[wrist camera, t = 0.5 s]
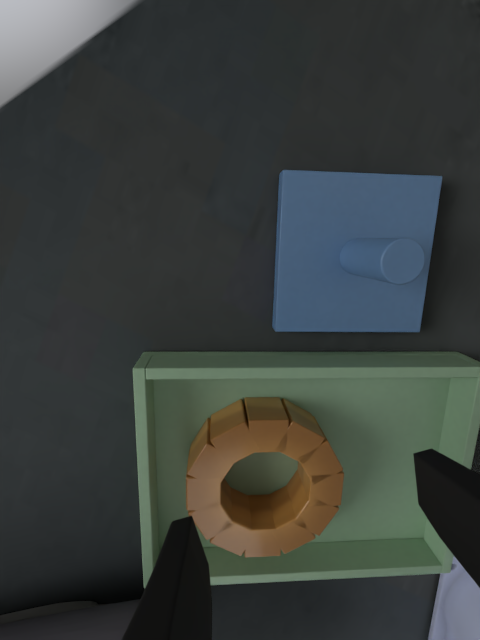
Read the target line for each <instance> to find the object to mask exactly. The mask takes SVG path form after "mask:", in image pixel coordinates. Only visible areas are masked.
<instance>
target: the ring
mask: <svg viewBox="0 0 480 640" xmlns="http://www.w3.org/2000/svg"><path fill="white" fill-rule="evenodd" d="M262 452H281V453H283V454H285V455H287V456H288V457H290V458H292V459H294V460H296V461H298V468H297V471H296V472H295V474H294V475H293V476H292V478H291V479H290V481H289V482H288V483H287V485H286V486H284V487H282V488H280V489H278V490H276V491H275V492H273V493H271V494H264V495H246V494H244V493H242V492H240V491H238V490H236V489H233V488H231V487H230V486H229V484H228V483H227V481H226V480H225V476H226V475H227V473H228V472H229V470H230V469H231V467H232V466H233V464H234V463H236V462H238V461H240V460H242V459H244V458H246V457H247V456H249V455H251V454H253V453H262ZM343 481H344V472H343V467H342V465H341V464H340V462H339V460H338V458H337V456H336V454H335V453H334V451H333V449H332V447H331V445H330V443H329V442H328V440H327V438H326V436H325V435H324V433H323V431H322V429H321V427H320V426H319V424H318V422H317V420H316V419H315V417H314V416H312V414H311V413H310V412H308V411H306V410H304V409H302V408H301V407H299V406H297V405H295V404H293V403H291V402H290V401H288V400H286V399H284V398H283V399H282V400H280V398H279V397H245V399H244V402H243V401H242V400H241V399H240V400H238V401H236V402H234V403H232V404H230V405H228V406H226V407H225V408H223V409H221V410H219V411H217V412H215V413H213V414H212V415H211V419H210V418H207V419H206V421H205V422H204V424H203V426H202V427H201V429H200V430H199V432H198V434H197V435H196V437H195V438H194V440H193V441H192V443H191V446H190V449H189V456H188V464H187V472H186V509H187V511H188V515H189V516H192V517H193V520H194V523H195V525H196V526H197V528H198V529H199V530H200V532H201V533H202V535H203V536H204V537H205V539H206V540H209V539H210V543H211V544H214V545H216V546H218V547H220V548H223V549H225V550H227V551H230V552H232V553H234V554H237V555H239V556H242V554H243V553H244V556H245V558H246V557H268V556H281V550H282V552H283V553H284V554H286V553H288V552H290V551H292V550H294V549H296V548H298V547H300V546H302V545H304V544H306V543H308V542H310V541H312V540H314V539H315V538H316V537H315V534H316V535H318V536H320V534H321V533H322V532H323V530H324V529H325V528H326V526H327V525H328V524H329V522H330V521H331V520H332V518H333V517H334V516H335V514H336V513H337V512H338V510H339V507H338V506H340V505H341V500H342V490H343Z"/></svg>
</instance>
